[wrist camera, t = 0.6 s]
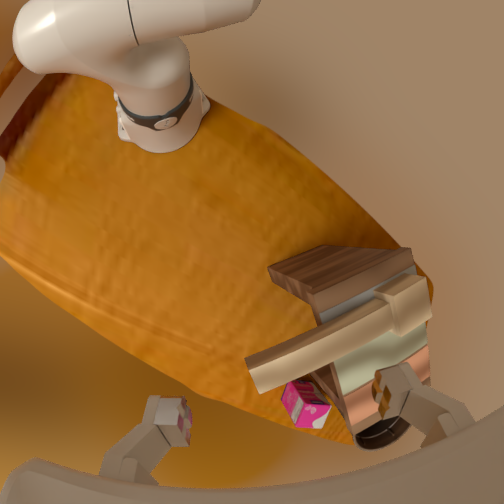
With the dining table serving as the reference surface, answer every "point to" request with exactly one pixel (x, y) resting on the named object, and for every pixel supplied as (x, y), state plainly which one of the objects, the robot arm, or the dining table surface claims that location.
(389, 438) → the plant pot
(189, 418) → the robot arm
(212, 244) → the dining table surface
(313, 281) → the shelf
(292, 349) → the marker stick
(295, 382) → the supplement box
